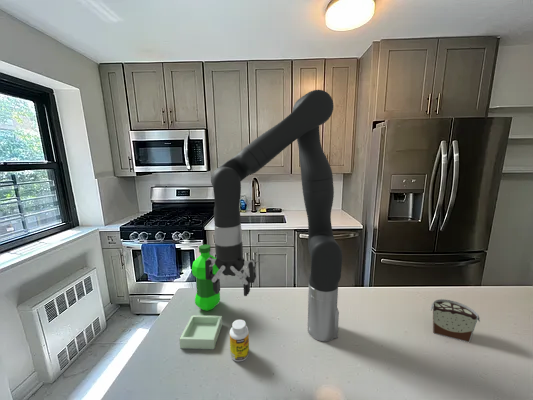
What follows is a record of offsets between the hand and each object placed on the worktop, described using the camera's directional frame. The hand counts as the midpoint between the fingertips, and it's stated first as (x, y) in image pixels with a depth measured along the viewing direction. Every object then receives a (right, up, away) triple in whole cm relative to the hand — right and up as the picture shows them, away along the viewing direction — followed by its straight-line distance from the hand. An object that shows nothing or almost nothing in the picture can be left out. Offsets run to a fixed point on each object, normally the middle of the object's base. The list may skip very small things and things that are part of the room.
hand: (231, 293), depth 66 cm
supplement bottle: (+2, -19, +2) cm, 19 cm away
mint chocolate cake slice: (+71, -17, +10) cm, 73 cm away
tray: (-11, -18, +9) cm, 23 cm away
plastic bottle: (-13, -15, +24) cm, 32 cm away
